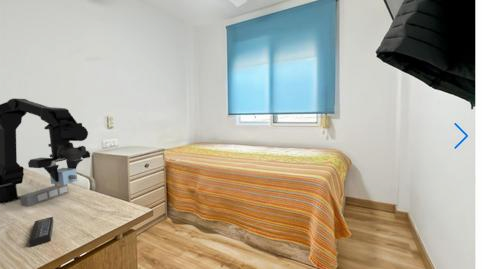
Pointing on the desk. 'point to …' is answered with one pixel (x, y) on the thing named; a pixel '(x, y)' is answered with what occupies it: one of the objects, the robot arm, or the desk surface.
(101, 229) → the desk surface
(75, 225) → the desk surface
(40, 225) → the multiport hub
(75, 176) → the slate plug
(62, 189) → the power strip
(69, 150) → the robot arm
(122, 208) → the desk surface
